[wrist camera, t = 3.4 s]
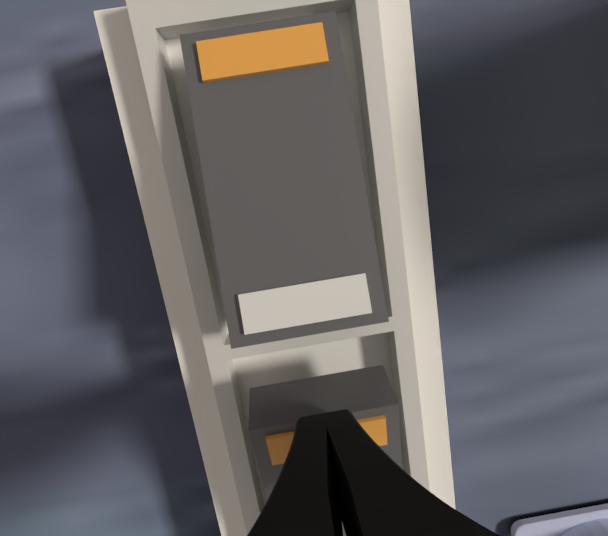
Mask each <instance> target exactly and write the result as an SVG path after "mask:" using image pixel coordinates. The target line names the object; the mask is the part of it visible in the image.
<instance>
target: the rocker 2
mask: <svg viewBox="0 0 608 536" xmlns="http://www.w3.org/2000/svg"><path fill="white" fill-rule="evenodd" d="M344 409H347V410H349V411H350V412H351V413H352V414H353V416H354V417H355V419H356V420H357V421H358V423H359V424H360V425H361V426H362V428H363V429H364V430H365V431H366V432H367V434H368V435H369V436H370V437H371V438H372V439H373V440H374V441H375V443H376V444H377V445H378V446H379V447H380V448H381V449H382V450H383V451H384V452H385V453H386V454H387V455H388V456H389V457H390V458H391V459H392V460H393V461H394V462H395V463H396V464H398V465H399V466H400V467H401V468H402V459H401V438H400V417H399V403H398V401H397V398H396V396H395V393H394V391H393V388H392V386H391V384H390V381H389V379H388V376H387V374H386V371H385V369H384V366H383V365H379V366H373V367H367V368H362V369H356V370H350V371H344V372H339V373H333V374H327V375H322V376H316V377H310V378H305V379H299V380H293V381H287V382H282V383H276V384H270V385H265V386H259V387H253V388H250V393H249V434H250V438H251V441H252V445H253V449H254V452H255V456H256V459H257V463H258V467H259V470H260V474H261V477H262V481H263V485H264V488H265V492H266V495H267V499H268V498H269V496H270V494H271V492H272V490H273V488H274V486H275V484H276V481H277V479H278V477H279V475H280V473H281V470H282V468H283V465H284V463H285V460H286V457H287V455H288V452H289V449H290V446H291V443H292V440H293V437H294V433H295V429H296V423H297V421H298V420H299V418H300V417H305V416H310V415H316V414H322V413H327V412H333V411H339V410H344ZM342 529H343V536H346V534H345V530H344V527H343V523H342Z"/></svg>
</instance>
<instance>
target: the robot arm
mask: <svg viewBox="0 0 608 536" xmlns="http://www.w3.org/2000/svg"><path fill="white" fill-rule="evenodd" d="M342 523H343V527H344V530H345V534H346V536H499V535H498V534H496V533H494V532H492V531H490V530H489V529H487V528H485V527H483V526H482V525H480V524H478V523H477V522H475V521H473V520H472V519H470V518H468V517H467V516H465V515H463V514H462V513H460V512H458V511H457V510H455V509H454V508H452V507H451V506H449V505H448V504H446V503H445V502H443V501H442V500H441V499H439V498H438V497H436V496H435V495H434V494H432V493H431V492H430V491H428V490H427V489H426V488H425V487H423V486H422V485H421V484H419V483H418V482H417V481H416V480H415V479H413V478H412V477H411V476H410V475H409V474H408V473H407V472H405V471H404V470H403V469H402V468H401V467H400V466H399V465H398V464H396V463H395V462H394V461H393V460H392V459H391V458H390V457H389V456H388V455H387V454H386V453H385V452H384V451H383V450H382V449H381V448H380V447H379V446H378V445H377V444H376V443H375V441H374V440H373V439H372V438H371V437H370V436H369V435H368V434H367V432H366V431H365V430H364V429H363V428H362V426H361V425H360V424H359V423H358V421H357V420H356V419H355V417H354V416H353V414H352V413H351V412H350V411H349V410H347V409H344V410H339V411H333V412H327V413H322V414H316V415H310V416H305V417H300V418H299V420H298V421H297V423H296V429H295V433H294V437H293V440H292V443H291V446H290V449H289V452H288V455H287V457H286V460H285V463H284V465H283V468H282V470H281V473H280V475H279V477H278V479H277V481H276V484H275V486H274V488H273V490H272V492H271V494H270V496H269V498H268V500H267V502H266V504H265V506H264V508H263V510H262V511H261V513H260V515H259V517H258V518H257V520H256V522H255V523H254V525H253V527H252V528H251V530H250V532H249V533H248V535H247V536H343V529H342ZM511 536H608V503H606V504H601V505H595V506H590V507H585V508H579V509H574V510H568V511H563V512H558V513H552V514H547V515H542V516H536V517H531V518H526V519H520V520H517V521H516V522H514V523H513V525H512V526H511Z"/></svg>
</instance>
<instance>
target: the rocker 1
mask: <svg viewBox="0 0 608 536" xmlns="http://www.w3.org/2000/svg"><path fill="white" fill-rule="evenodd" d="M179 36H180V42H181V48H182V54H183V60H184V66H185V72H186V78H187V84H188V90H189V96H190V103H191V109H192V115H193V121H194V127H195V133H196V139H197V145H198V151H199V157H200V163H201V169H202V175H203V181H204V187H205V193H206V199H207V205H208V212H209V218H210V224H211V230H212V236H213V242H214V248H215V254H216V260H217V266H218V272H219V278H220V284H221V290H222V296H223V302H224V308H225V315H226V321H227V327H228V333H229V339H230V345H231V349H233V348H239V347H245V346H251V345H257V344H262V343H268V342H274V341H280V340H286V339H291V338H297V337H303V336H309V335H315V334H320V333H326V332H332V331H338V330H343V329H349V328H355V327H361V326H367V325H372V324H378V323H384V322H389V318H388V313H387V307H386V301H385V295H384V289H383V284H382V278H381V272H380V266H379V260H378V255H377V249H376V243H375V237H374V231H373V226H372V220H371V214H370V208H369V202H368V197H367V191H366V185H365V179H364V174H363V168H362V162H361V156H360V150H359V145H358V139H357V133H356V127H355V121H354V116H353V110H352V104H351V98H350V92H349V87H348V81H347V75H346V69H345V63H344V58H343V52H342V46H341V40H340V34H339V29H338V23H337V17H336V11H332V12H325V13H319V14H312V15H306V16H299V17H293V18H286V19H280V20H273V21H267V22H260V23H254V24H247V25H241V26H234V27H227V28H221V29H214V30H208V31H201V32H195V33H188V34H182V35H179Z"/></svg>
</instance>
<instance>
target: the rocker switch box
mask: <svg viewBox="0 0 608 536" xmlns="http://www.w3.org/2000/svg"><path fill="white" fill-rule="evenodd" d="M126 4H127V6H124V7H117V8H111V9H104V10H98V11H94V16H95V20H96V24H97V28H98V32H99V36H100V40H101V44H102V48H103V52H104V57H105V61H106V65H107V69H108V73H109V77H110V81H111V85H112V89H113V93H114V98H115V102H116V106H117V110H118V114H119V118H120V122H121V126H122V130H123V134H124V139H125V143H126V147H127V151H128V155H129V159H130V163H131V167H132V171H133V175H134V180H135V184H136V188H137V192H138V196H139V200H140V204H141V208H142V212H143V216H144V221H145V225H146V229H147V233H148V237H149V241H150V245H151V249H152V253H153V257H154V262H155V266H156V270H157V274H158V278H159V282H160V286H161V290H162V294H163V298H164V303H165V307H166V311H167V315H168V319H169V323H170V327H171V331H172V335H173V339H174V344H175V348H176V352H177V356H178V360H179V364H180V368H181V372H182V376H183V380H184V385H185V389H186V393H187V397H188V401H189V405H190V409H191V413H192V417H193V421H194V426H195V430H196V434H197V438H198V442H199V446H200V450H201V454H202V458H203V462H204V467H205V471H206V475H207V479H208V483H209V487H210V491H211V495H212V499H213V503H214V508H215V512H216V516H217V520H218V524H219V528H220V532H221V536H247V535H248V533H249V532H250V530H251V528H252V527H253V525H254V523H255V522H256V520H257V518H258V517H259V515H260V513H261V511H262V510H263V508H264V506H265V504H266V502H267V500H268V499H267V495H266V492H265V488H264V485H263V481H262V477H261V474H260V470H259V467H258V463H257V459H256V456H255V452H254V449H253V445H252V441H251V438H250V434H249V393H250V388H253V387H259V386H265V385H270V384H276V383H282V382H287V381H293V380H299V379H305V378H310V377H316V376H322V375H327V374H333V373H339V372H344V371H350V370H356V369H362V368H367V367H373V366H379V365H383V366H384V369H385V371H386V374H387V376H388V379H389V381H390V384H391V386H392V388H393V391H394V393H395V396H396V398H397V401H398V403H399V417H400V438H401V459H402V469H403V470H404V471H405V472H407V473H408V474H409V475H410V476H411V477H412V478H413V479H415V480H416V481H417V482H418V483H419V484H421V485H422V486H423V487H425V488H426V489H427V490H428V491H430V492H431V493H432V494H434V495H435V496H436V497H438V498H439V499H441V500H442V501H443V502H445V503H446V504H448V505H449V506H451V507H452V508H454V509H455V498H454V487H453V476H452V465H451V454H450V443H449V432H448V421H447V410H446V399H445V388H444V377H443V366H442V355H441V344H440V333H439V322H438V311H437V301H436V290H435V279H434V268H433V257H432V246H431V235H430V224H429V213H428V202H427V191H426V180H425V169H424V158H423V147H422V136H421V125H420V114H419V103H418V92H417V81H416V70H415V59H414V48H413V37H412V26H411V16H410V5H409V0H126ZM332 11H336V17H337V23H338V29H339V34H340V40H341V46H342V52H343V58H344V63H345V69H346V75H347V81H348V87H349V92H350V98H351V104H352V110H353V116H354V121H355V127H356V133H357V139H358V145H359V150H360V156H361V162H362V168H363V174H364V179H365V185H366V191H367V197H368V202H369V208H370V214H371V220H372V226H373V231H374V237H375V243H376V249H377V255H378V260H379V266H380V272H381V278H382V284H383V289H384V295H385V301H386V307H387V313H388V318H389V322H384V323H378V324H372V325H367V326H361V327H355V328H349V329H343V330H338V331H332V332H326V333H320V334H315V335H309V336H303V337H297V338H291V339H286V340H280V341H274V342H268V343H262V344H257V345H251V346H245V347H239V348H233V349H231V345H230V339H229V333H228V327H227V321H226V315H225V308H224V302H223V296H222V290H221V284H220V278H219V272H218V266H217V260H216V254H215V248H214V242H213V236H212V230H211V224H210V218H209V212H208V205H207V199H206V193H205V187H204V181H203V175H202V169H201V163H200V157H199V151H198V145H197V139H196V133H195V127H194V121H193V115H192V109H191V103H190V96H189V90H188V84H187V78H186V72H185V66H184V60H183V54H182V48H181V42H180V36H179V35H182V34H188V33H195V32H201V31H208V30H214V29H221V28H227V27H234V26H241V25H247V24H254V23H260V22H267V21H273V20H280V19H286V18H293V17H299V16H306V15H312V14H319V13H325V12H332ZM455 510H456V509H455Z"/></svg>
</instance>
